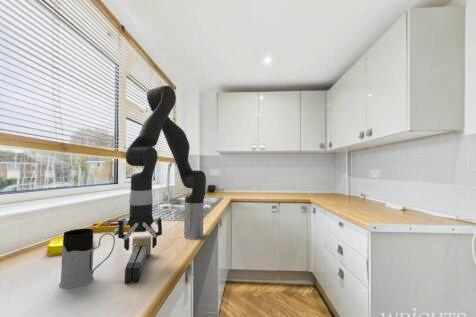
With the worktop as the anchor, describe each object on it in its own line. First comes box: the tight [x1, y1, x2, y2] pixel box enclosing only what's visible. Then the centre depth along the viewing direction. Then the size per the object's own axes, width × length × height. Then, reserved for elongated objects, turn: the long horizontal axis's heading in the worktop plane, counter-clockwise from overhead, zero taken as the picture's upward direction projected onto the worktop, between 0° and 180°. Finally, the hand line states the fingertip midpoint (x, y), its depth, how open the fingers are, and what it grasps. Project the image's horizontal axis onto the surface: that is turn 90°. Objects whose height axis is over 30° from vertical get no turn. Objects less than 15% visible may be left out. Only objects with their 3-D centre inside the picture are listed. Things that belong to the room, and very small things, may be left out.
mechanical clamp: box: [91, 218, 142, 235], centre depth 129 cm, size 18×6×30 cm
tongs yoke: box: [135, 243, 149, 258], centre depth 92 cm, size 3×5×5 cm, turn 105°
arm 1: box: [124, 246, 140, 285], centre depth 80 cm, size 20×2×4 cm, turn 16°
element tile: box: [46, 234, 64, 257], centre depth 101 cm, size 15×15×5 cm
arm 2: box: [131, 246, 148, 284], centre depth 81 cm, size 20×2×4 cm, turn 14°
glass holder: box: [58, 228, 116, 290], centre depth 73 cm, size 9×14×15 cm, turn 114°
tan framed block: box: [131, 235, 152, 258], centre depth 92 cm, size 3×6×7 cm, turn 105°
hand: (140, 248), depth 84 cm, fingers open, 8 cm apart
